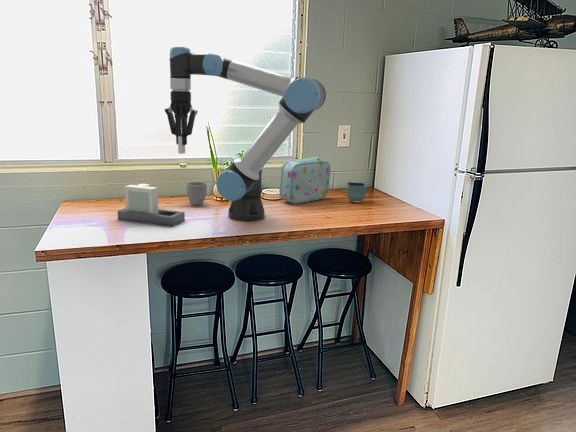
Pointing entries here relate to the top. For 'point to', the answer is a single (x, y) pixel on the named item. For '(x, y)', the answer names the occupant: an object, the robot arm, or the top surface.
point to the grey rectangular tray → (153, 217)
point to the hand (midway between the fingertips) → (181, 153)
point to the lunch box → (304, 180)
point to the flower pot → (356, 191)
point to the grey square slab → (141, 199)
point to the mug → (196, 192)
